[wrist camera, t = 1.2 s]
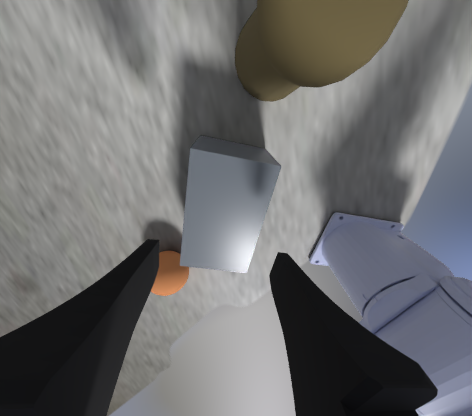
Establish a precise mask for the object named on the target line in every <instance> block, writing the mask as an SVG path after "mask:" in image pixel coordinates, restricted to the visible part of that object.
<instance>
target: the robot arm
mask: <svg viewBox="0 0 472 416" xmlns="http://www.w3.org/2000/svg"><path fill="white" fill-rule="evenodd" d="M341 216H342V217H341ZM339 217H341V218H339ZM403 227H404V225H403V224H401V223H398V222H392V221H386V220H380V219H374V218H368V217H362V216H356V215H350V214H344V213H339V212H336V213H334V214H333V215H332V216H331V218H330V220H329V222H328V224H327V226H326V228H325V230H324V232H323V234H322V236H321V238H320V240H319V242H318V243H317V245H316V247H315V249H314V251H313V253H312V255H311V257H310V259H309V261H310V263H311V264H317V265H325V266H329V267H330V268H331V270H332V271H333V273H334V274H335V276H336V277H337V279H338V280H339V282H340V284H341V285H342V287H343V288H344V290H345V291H346V293H347V294H348V296H349V298H350V299H351V301H352V302H353V304H354V305H355V307H356V308H357V310H358V312H359V313H360V314H361V316H362V318H363V319H362V320H361V321H360V322H359V323H358V322H357V321H356V320H354V319H353V318H352V317H351V316H349V315H348V314H347V313H345V312H344V311H343V310H342V309H341V308H340V307H338V306H337V305H336V304H335V303H334V302H333V301H332V300H331V299H330V298H329V297H328V296H327V295H325V294H324V293H323V292H322V291H321V290H320V289H319V288H318V287H317V286H316V284H314V283H313V281H312V280H311V279H310V278H309V277H308V276H307V275H306V274H305V273H304V272H303V270H302V269H301V268H300V267H299V266H298V265H297V264H296V263H295V261H294V260H293V259H292V258H291V257H290V256H289V255H288V254H287V253H279V252H278V254H277V256H276V259H275V262H274V264H273V267H272V270H271V272H270V275H269V276H270V284H271V290H272V294H273V298H274V301H275V305H276V308H277V312H278V316H279V320H280V323H281V326H282V330H283V334H284V339H285V345H286V350H287V356H288V361H289V368H290V374H291V381H292V388H293V395H294V403H295V411H296V416H472V281H470V280H468V279H465V278H459V277H454V275H453V274H452V272H451V271H450V270H449V268H447V266H445V265H444V264H443V263H442V262H440V261H439V260H438V259H436V258H435V257H434V256H432V255H431V254H429V253H428V252H427V251H425V250H424V249H423V248H421V247H420V246H418V245H417V244H416V243H414V242H413V241H411V240H410V239H409V238H407V237H406V236H405V235H403V234H402V233H401V232H400V231H401V230H402V229H403ZM158 269H159V240H150V239H148V240H146V241H145V242H144V243H143V244H142V245H141V246H140V247H138V248H137V249H136V250H135V251H134V252H133V253H132V254H131V255H130V256H128V257H127V258H126V259H125V260H124V261H122V262H121V263H120V264H119V265H118V266H116V267H115V268H114V269H113V270H111V271H110V272H109V273H107V274H106V275H105V276H104V277H102V278H101V279H100V280H98V281H97V282H95V283H94V284H93V285H91V286H90V287H88V288H87V289H85V290H84V291H82V292H81V293H79V294H78V295H76V296H74V297H73V298H71V299H70V300H68V301H66V302H65V303H63V304H61V305H60V306H58V307H56V308H55V309H53V310H51V311H50V312H48V313H46V314H44V315H42V316H41V317H39V318H37V319H35V320H33V321H31V322H29V323H27V324H26V325H24V326H22V327H20V328H18V329H16V330H14V331H12V332H10V333H8V334H6V335H4V336H2V337H0V416H106V415H107V412H108V408H109V405H110V402H111V398H112V395H113V392H114V389H115V385H116V382H117V379H118V376H119V373H120V370H121V367H122V364H123V360H124V357H125V354H126V351H127V348H128V345H129V342H130V340H131V337H132V334H133V331H134V328H135V326H136V323H137V321H138V319H139V316H140V314H141V312H142V310H143V307H144V305H145V303H146V301H147V298H148V296H149V294H150V291H151V289H152V287H153V284H154V282H155V279H156V276H157V272H158Z"/></svg>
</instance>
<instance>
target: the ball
mask: <svg viewBox="0 0 472 416" xmlns="http://www.w3.org/2000/svg"><path fill="white" fill-rule="evenodd" d="M180 256H181V254H179V253H177V252H175V251H163V252H160V253H159V269H158V272H157V276H156V279H155V282H154V284H153V287H152V289H151V292H153V293H154V294H157V295H161V296H166V295H171V294H174V293H176V292H177V291H179V290H180V289H181V288H182V287H183V286H184V284H185V283H186V281H187V279H188V275H189V267H187V266H180Z"/></svg>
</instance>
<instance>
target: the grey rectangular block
mask: <svg viewBox="0 0 472 416" xmlns="http://www.w3.org/2000/svg"><path fill="white" fill-rule="evenodd" d="M280 169H281V165H280V164H279V163H278V162H277V161H276V160H275V159H274V158H273V156H272V155H271V154H270V153H269V152H268V151H267V150H266V149H264V148H259V147H255V146H250V145H245V144H240V143H235V142H231V141H226V140H221V139H216V138H211V137H207V136H202V135H201V136H200V137H199V138H198V139H197V141H196V142H195V143H194V144H193V145H192V147H191V148H190V156H189V167H188V178H187V190H186V201H185V212H184V223H183V234H182V245H181V256H180V266H187V267H196V268H205V269H214V270H223V271H232V272H241V273H247V271H248V267H249V264H250V261H251V258H252V255H253V252H254V249H255V246H256V243H257V240H258V237H259V234H260V231H261V228H262V224H263V221H264V218H265V215H266V212H267V209H268V206H269V203H270V200H271V197H272V194H273V191H274V188H275V184H276V181H277V178H278V175H279V172H280Z"/></svg>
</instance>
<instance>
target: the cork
mask: <svg viewBox="0 0 472 416" xmlns="http://www.w3.org/2000/svg"><path fill="white" fill-rule="evenodd" d="M408 1H409V0H257V8H256V10H255V11H254V12H253V14H252V15H251V17H250V18H249V19H248V21H247V22H246V24H245V26H244V27H243V29H242V31H241V32H240V35H239V38H238V41H237V45H236V48H235V66H236V70H237V74H238V78H239V80H240V82H241V83H242V85H243V87H244V89H245V90H246V91H247V92H248V93H249V94H250V95H252V96H253V97H255V98H257V99H259V100H262V101H276V100H279V99H283V98H285V97H286V96H287V95H289V94H290V93H292V92H293V91H294V90H296V89H297V88H299V87H300V86H302V87H323V86H326V85H329V84H332V83H335V82H339V81H342V80H343V79H345V78H346V77H348V76H349V75H351V74H352V73H354V72H355V71H357V70H358V69H360V68H361V67H362V66H364V65H365V64H366V63H368V62H369V61H370V60H371V59H372V57H373V56H374V55H375V54H376V53H377V52H378V51H379V50H380V49H381V47H382V46H383V45H384V44H385V43H386V42H387V40H388V39H389V37H390V35H391V33H392V32H393V30H394V28H395V26H396V25H397V23H398V21H399V19H400V18H401V16H402V14H403V12H404V10H405V8H406V7H407V4H408Z"/></svg>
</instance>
